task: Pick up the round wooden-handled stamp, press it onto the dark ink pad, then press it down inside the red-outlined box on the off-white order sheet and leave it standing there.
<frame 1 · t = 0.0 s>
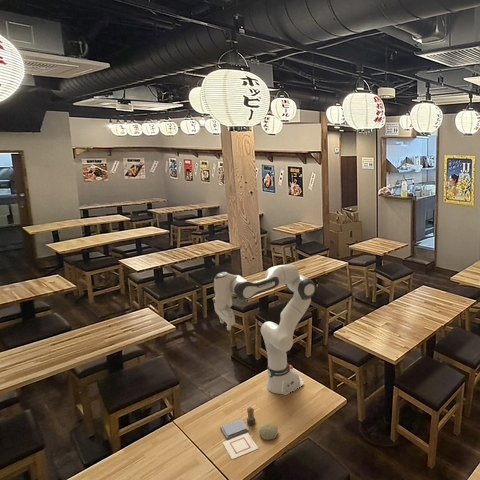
hand: (225, 326, 216), 48 cm above the table, fingers open, 8 cm apart
sea urchin shell: (268, 435, 203), on the table
stamp: (251, 422, 212), on the table
order sheet: (240, 445, 197), on the table
ink pad: (234, 429, 208), on the table
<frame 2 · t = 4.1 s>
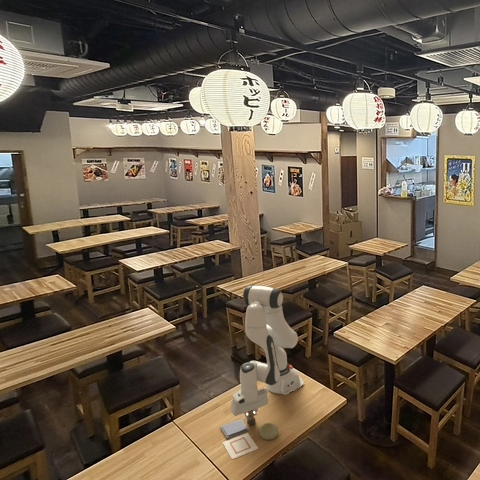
hand: (250, 416, 211), 4 cm above the table, fingers closed on stamp, 3 cm apart
stamp: (251, 422, 212), on the table, touching gripper
everything else where it was.
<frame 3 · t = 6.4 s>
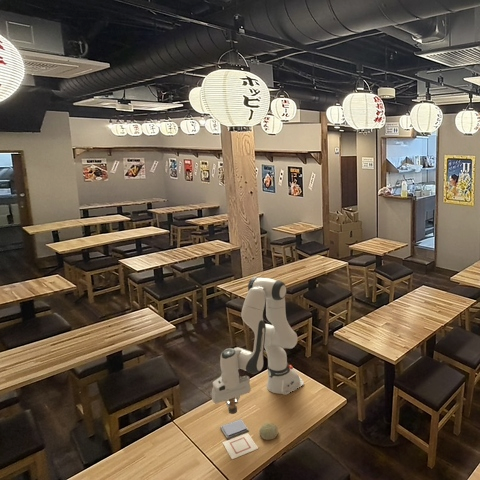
hand: (232, 404, 204), 15 cm above the table, fingers closed on stamp, 3 cm apart
stamp: (232, 411, 205), point 11 cm above the table, touching gripper
everything else where it was.
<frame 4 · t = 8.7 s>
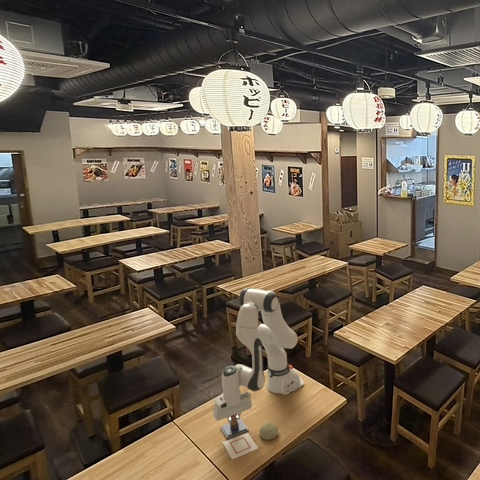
hand: (233, 420, 206), 5 cm above the table, fingers closed on stamp, 3 cm apart
stamp: (234, 426, 207), point 2 cm above the table, touching gripper
everything else where it was.
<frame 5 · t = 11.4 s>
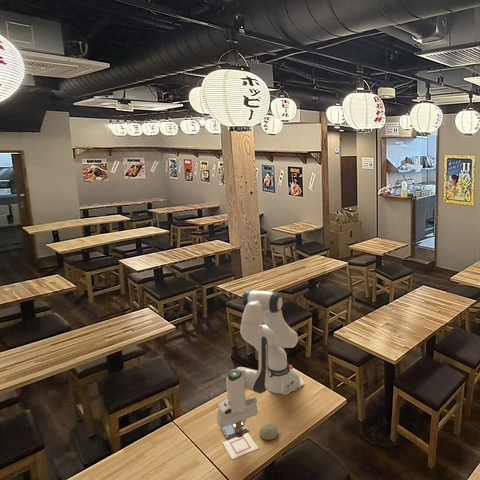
hand: (238, 427, 194), 11 cm above the table, fingers closed on stamp, 3 cm apart
stamp: (239, 434, 195), point 7 cm above the table, touching gripper
everything else where it was.
when the fingers open (4 cm above the table, at t = 13.7 s): stamp stays where it is, resting on order sheet.
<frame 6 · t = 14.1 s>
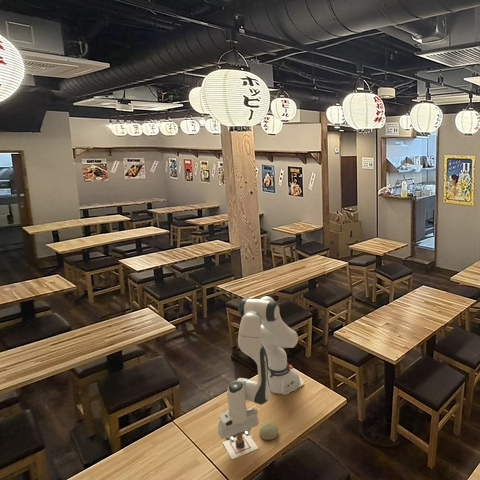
hand: (239, 438, 196), 4 cm above the table, fingers open, 7 cm apart
stamp: (240, 445, 197), resting on order sheet
everything else where it was.
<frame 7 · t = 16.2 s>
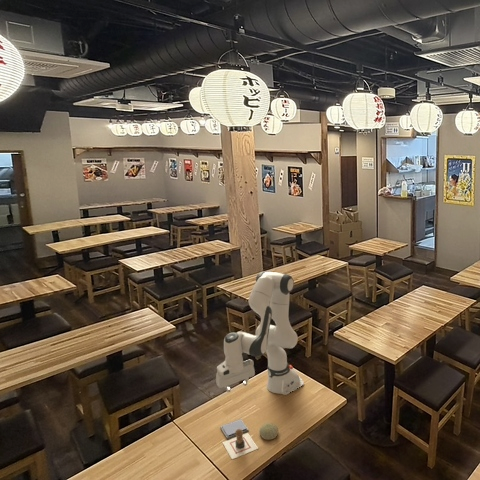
hand: (237, 388, 203), 23 cm above the table, fingers open, 8 cm apart
nothing on the table moved.
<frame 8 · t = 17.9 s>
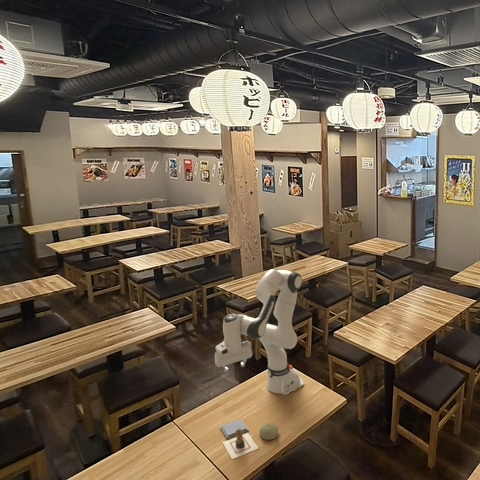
hand: (234, 368, 210), 29 cm above the table, fingers open, 8 cm apart
nothing on the table moved.
at the end: stamp inside the target area on the order sheet (0.1 cm from its centre), point 0.3 cm above the order sheet's base; stamp tilted 0°; the gripper is holding nothing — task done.
